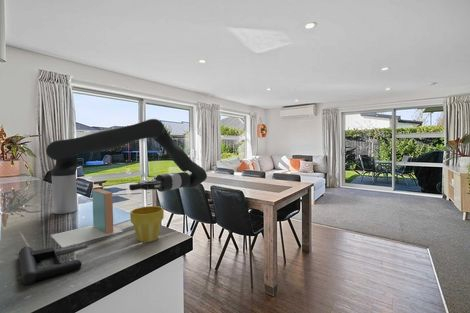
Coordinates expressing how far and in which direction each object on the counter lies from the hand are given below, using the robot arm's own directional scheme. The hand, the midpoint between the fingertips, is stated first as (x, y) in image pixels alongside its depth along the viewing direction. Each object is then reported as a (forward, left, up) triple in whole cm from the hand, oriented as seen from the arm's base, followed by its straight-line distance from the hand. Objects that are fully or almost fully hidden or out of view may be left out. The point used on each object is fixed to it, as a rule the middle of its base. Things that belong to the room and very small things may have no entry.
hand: (130, 187), depth 93 cm
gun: (+14, -27, -15) cm, 34 cm away
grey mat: (0, -15, -14) cm, 21 cm away
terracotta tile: (0, -10, -14) cm, 17 cm away
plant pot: (+19, -3, -15) cm, 24 cm away
